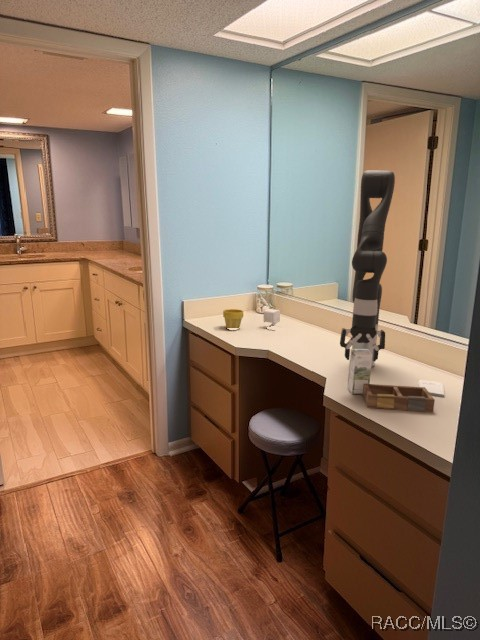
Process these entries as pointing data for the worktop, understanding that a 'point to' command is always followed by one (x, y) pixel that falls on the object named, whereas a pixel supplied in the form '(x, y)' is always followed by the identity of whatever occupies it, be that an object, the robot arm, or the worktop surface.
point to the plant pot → (233, 317)
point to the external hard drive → (433, 387)
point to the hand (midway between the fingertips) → (360, 360)
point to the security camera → (272, 316)
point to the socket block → (398, 397)
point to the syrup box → (359, 370)
